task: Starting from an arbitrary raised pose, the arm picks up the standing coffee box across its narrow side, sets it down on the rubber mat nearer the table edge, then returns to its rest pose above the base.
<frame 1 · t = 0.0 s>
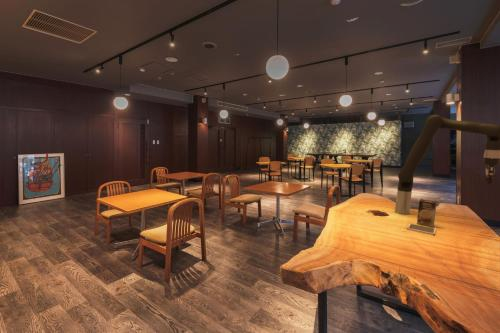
hand: (488, 182, 156), 29 cm above the table, fingers open, 8 cm apart
coffee box: (425, 224, 163), on the table
mat: (421, 229, 154), on the table
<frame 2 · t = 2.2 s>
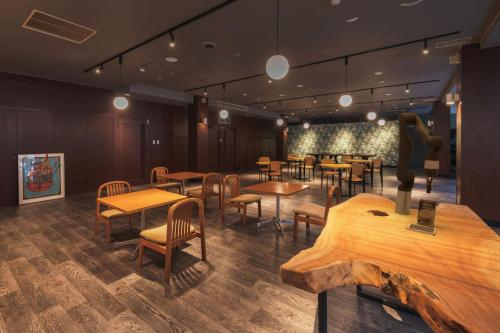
hand: (428, 192, 160), 22 cm above the table, fingers open, 8 cm apart
nothing on the table moved.
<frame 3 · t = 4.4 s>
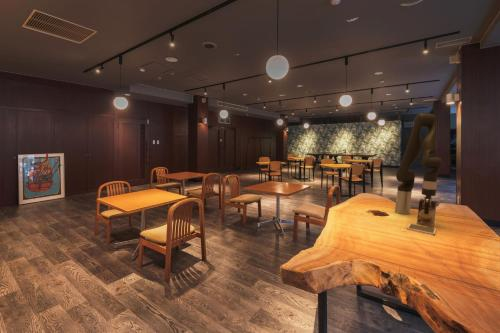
hand: (426, 212, 162), 8 cm above the table, fingers closed on coffee box, 6 cm apart
coffee box: (425, 224, 163), on the table, touching gripper
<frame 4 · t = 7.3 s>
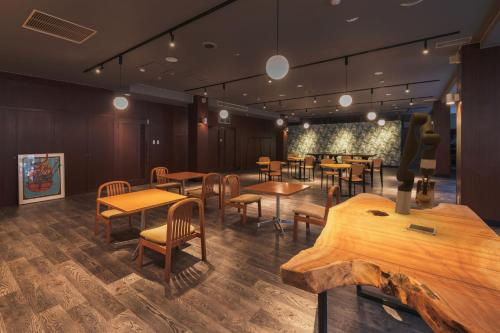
hand: (425, 193, 151), 23 cm above the table, fingers closed on coffee box, 6 cm apart
coffee box: (423, 207, 152), point 15 cm above the table, touching gripper
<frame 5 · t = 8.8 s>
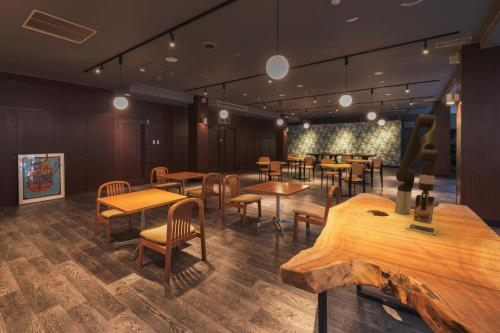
hand: (423, 208, 152), 14 cm above the table, fingers closed on coffee box, 6 cm apart
coffee box: (422, 221, 153), point 5 cm above the table, touching gripper
when the fingers open (10 cm above the table, at t = 10.2 s): coffee box stays where it is, resting on mat.
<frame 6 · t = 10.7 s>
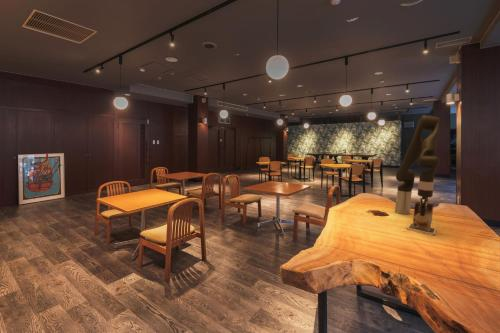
hand: (422, 214, 152), 10 cm above the table, fingers open, 8 cm apart
coffee box: (421, 229, 154), resting on mat
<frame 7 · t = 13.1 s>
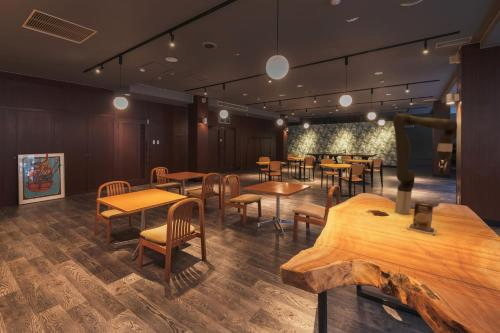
hand: (441, 175, 161), 33 cm above the table, fingers open, 8 cm apart
nothing on the table moved.
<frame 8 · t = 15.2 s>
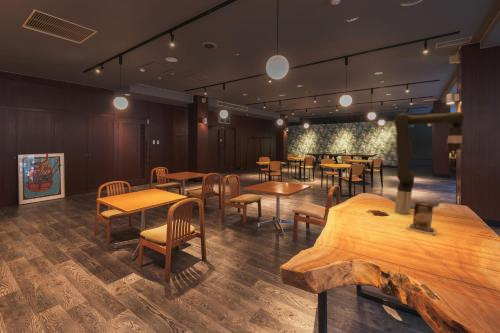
hand: (451, 166, 169), 38 cm above the table, fingers open, 8 cm apart
nothing on the table moved.
at the end: coffee box inside the target area on the mat (0.2 cm from its centre), point 0.4 cm above the mat's base; coffee box tilted 0°; the gripper is holding nothing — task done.
